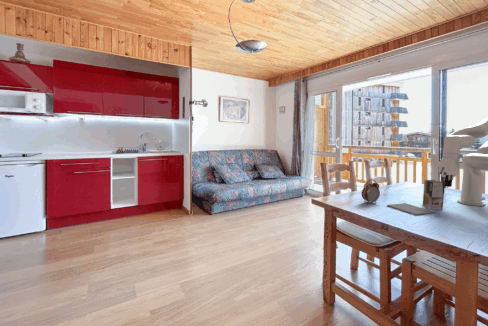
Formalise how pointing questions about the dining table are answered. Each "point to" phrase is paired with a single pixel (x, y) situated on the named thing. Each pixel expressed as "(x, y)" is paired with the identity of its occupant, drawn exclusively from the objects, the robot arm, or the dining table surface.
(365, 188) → the alarm clock
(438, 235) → the dining table surface
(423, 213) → the mat
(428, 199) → the coffee box
